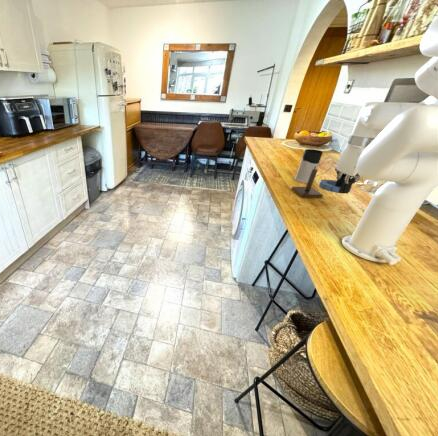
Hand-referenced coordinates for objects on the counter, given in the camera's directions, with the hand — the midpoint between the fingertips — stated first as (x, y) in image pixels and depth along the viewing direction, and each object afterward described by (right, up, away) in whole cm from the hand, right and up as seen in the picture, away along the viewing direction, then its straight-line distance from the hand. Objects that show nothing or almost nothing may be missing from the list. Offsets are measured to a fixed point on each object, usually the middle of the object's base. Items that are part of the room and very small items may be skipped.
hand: (340, 191), depth 91 cm
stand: (-1, +1, +19) cm, 19 cm away
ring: (0, +1, +4) cm, 4 cm away
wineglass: (+22, +7, +24) cm, 34 cm away
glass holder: (+10, +9, +32) cm, 35 cm away
